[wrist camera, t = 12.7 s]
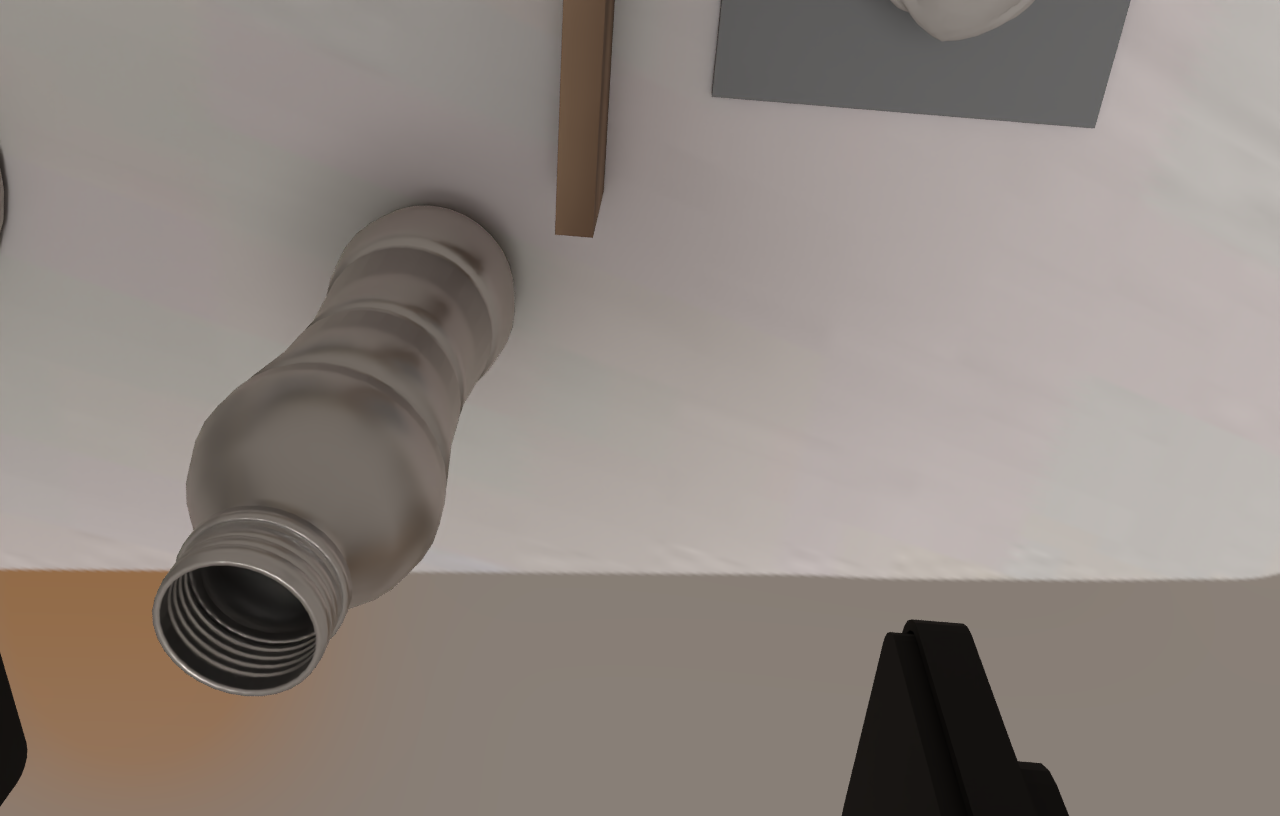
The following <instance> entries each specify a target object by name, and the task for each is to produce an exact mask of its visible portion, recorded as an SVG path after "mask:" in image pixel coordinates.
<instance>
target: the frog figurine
mask: <svg viewBox="0 0 1280 816" xmlns="http://www.w3.org/2000/svg"><path fill="white" fill-rule="evenodd" d="M890 1H891V2H892V3H893V4H894V5H895V6H896V7H898V8H899V9H901V10H903V11H907V12H909V13H910V15H911V16H912V18H913V19H914V20H915V22H916V23H917V24H918V25H919V26H920V27H921V28H923V29H924V30H925V31H926V32H928V33H929V34H930V35H931V36H933V37H934V38H936V39H938V40H940V41H955V40H962V39H966V38H971V37H975V36H978V35H981V34H983V33H985V32H988V31H990V30H992V29H995V28H997V27H999V26H1001V25H1003V24H1004V23H1006V22H1008V21H1010V20H1012V19H1014V18H1015V17H1017V16H1018V15H1020V14H1021V13H1022V12H1023V11H1025V10H1026V9H1027V8H1028V7H1029V6H1030V5H1031V4H1032V3H1033V2H1034V1H1035V0H890Z"/></svg>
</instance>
